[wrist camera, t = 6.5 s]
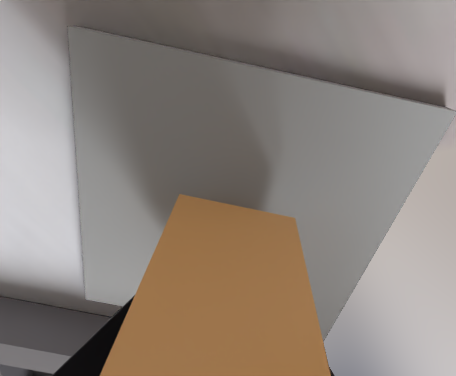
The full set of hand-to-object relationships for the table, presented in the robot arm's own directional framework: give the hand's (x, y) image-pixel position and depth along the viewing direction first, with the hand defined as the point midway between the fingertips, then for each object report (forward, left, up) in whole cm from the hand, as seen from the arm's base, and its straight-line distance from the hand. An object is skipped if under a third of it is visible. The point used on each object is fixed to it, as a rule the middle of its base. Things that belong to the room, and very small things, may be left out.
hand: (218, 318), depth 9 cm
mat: (0, 0, -5) cm, 5 cm away
